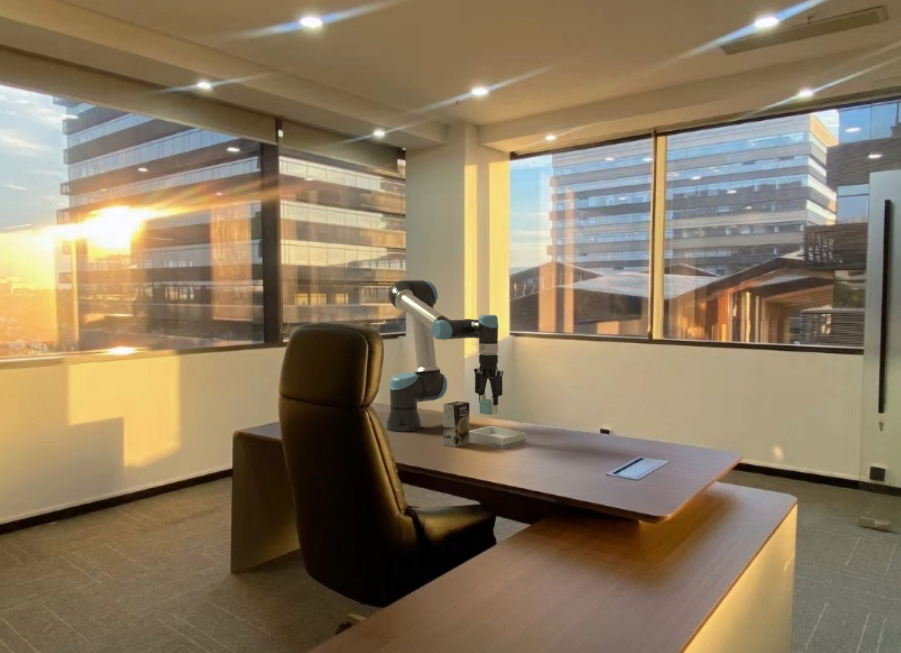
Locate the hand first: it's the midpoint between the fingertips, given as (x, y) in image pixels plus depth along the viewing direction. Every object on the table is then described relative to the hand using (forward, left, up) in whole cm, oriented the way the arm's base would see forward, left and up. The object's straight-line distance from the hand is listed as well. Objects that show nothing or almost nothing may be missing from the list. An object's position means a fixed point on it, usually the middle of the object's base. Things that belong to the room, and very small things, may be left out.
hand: (488, 412), depth 249 cm
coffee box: (-5, -13, -12) cm, 18 cm away
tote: (+4, 0, -11) cm, 12 cm away
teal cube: (0, 0, 0) cm, 0 cm away
